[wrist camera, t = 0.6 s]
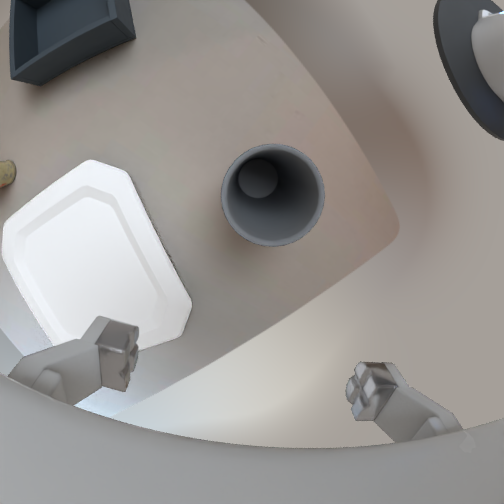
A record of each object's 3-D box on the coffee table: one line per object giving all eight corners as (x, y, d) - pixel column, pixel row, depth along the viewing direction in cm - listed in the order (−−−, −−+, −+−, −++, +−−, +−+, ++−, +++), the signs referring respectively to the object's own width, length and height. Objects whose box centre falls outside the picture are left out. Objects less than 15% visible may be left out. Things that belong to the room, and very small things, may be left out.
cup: (265, 136, 32) (288, 123, 18) (299, 186, 34) (343, 210, 20) (215, 171, 33) (199, 184, 19) (250, 219, 35) (260, 265, 21)
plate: (76, 363, 41) (71, 371, 39) (-1, 230, 33) (-10, 234, 31) (207, 320, 39) (206, 329, 37) (121, 142, 31) (113, 142, 29)
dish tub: (123, -37, 22) (107, -60, 16) (136, 37, 27) (117, 17, 21) (35, 10, 23) (11, -4, 16) (40, 86, 28) (10, 79, 21)
